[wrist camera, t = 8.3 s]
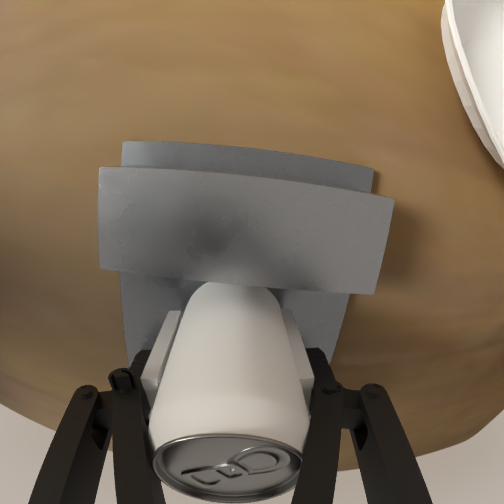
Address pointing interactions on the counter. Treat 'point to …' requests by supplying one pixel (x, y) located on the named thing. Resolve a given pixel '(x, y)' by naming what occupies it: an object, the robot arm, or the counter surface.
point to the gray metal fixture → (238, 233)
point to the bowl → (478, 65)
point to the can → (230, 400)
